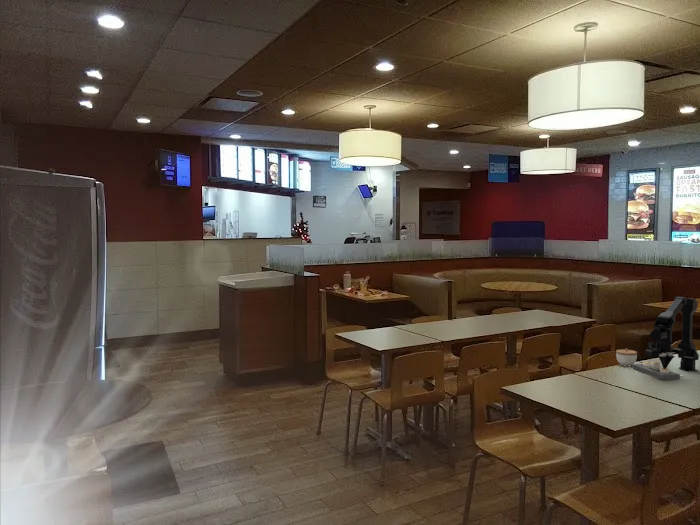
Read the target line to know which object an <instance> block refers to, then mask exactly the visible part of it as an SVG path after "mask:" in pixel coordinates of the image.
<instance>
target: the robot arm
mask: <svg viewBox="0 0 700 525" xmlns="http://www.w3.org/2000/svg"><path fill="white" fill-rule="evenodd" d="M698 305H699V302H698V300H697V299H695V298H693V297H685V296H675V298H674V300H673V302H672V303H671V305H670V306H669V307H668V309H666V311H664V312H661V313H660V314H659V315H658V316H657V317H656V320H655V322H654V325H653V330H652V331H651V332H650V333H649V338H650V339H651V341H648V343H647V344H648V345H647V346H648V348H649V349H648V348H647V349H645V350H644V351H645V352H644V354H645V355H646V356H650V357H652V358H656V357H657V358H658V359H659V360H660V364H661V366H662V368H664V369H666V368H668V366H669V364H670V363H671V361H672V360H673V359H674V358H675V357H676V356H674V355H675V354H677V357H678V359H680V364H679V365H680V367H678V369H680V370H683V371H686V372H694V371H695V372H697V371H698V369H696V361H699V357H700V355H699V352H698V351H697V348H696V344H695V343H694V341H693V327H694V326H693V325H694V324H693V322H694V313H695V312H697V310H698ZM679 312H681V314H682V321H681V322H682V324H681V325H682V326H681V341H680V342H679V343H678V344H677V347H673V348H672V345H674V341H672V338H673V337H672V335H673V334H672V333H673V330H674V328H673V327H674V325H675V323H676V317H677V315H678V314H679Z"/></svg>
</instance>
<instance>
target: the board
mask: <svg viewBox="0 0 700 525" xmlns="http://www.w3.org/2000/svg"><path fill="white" fill-rule="evenodd" d="M660 368H662V367H661V366H660ZM632 369H633V370H635V371H638V372H641V373H643V374H646V375H648V376H651V377H653V378H656V379H658V380H660V381H671V380H672V381H673V380H681V377H680V375H681V374H680V373H677V372H674V371H672V370H669V374H663V373H660V370H652V369H651V367H644V366H643V363H634V364H633V365H632Z"/></svg>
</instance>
